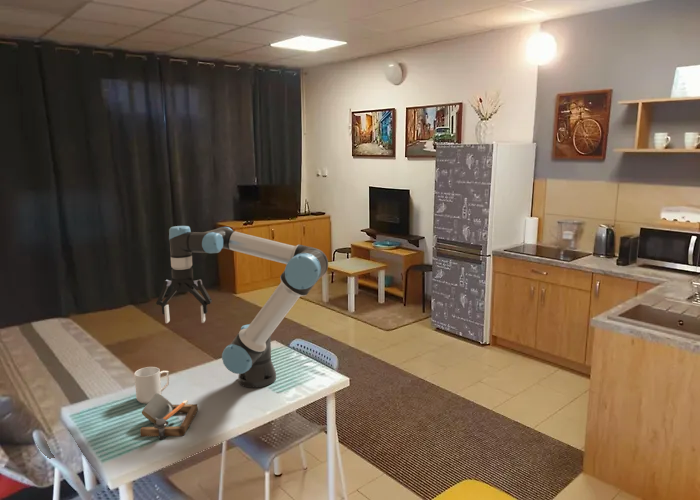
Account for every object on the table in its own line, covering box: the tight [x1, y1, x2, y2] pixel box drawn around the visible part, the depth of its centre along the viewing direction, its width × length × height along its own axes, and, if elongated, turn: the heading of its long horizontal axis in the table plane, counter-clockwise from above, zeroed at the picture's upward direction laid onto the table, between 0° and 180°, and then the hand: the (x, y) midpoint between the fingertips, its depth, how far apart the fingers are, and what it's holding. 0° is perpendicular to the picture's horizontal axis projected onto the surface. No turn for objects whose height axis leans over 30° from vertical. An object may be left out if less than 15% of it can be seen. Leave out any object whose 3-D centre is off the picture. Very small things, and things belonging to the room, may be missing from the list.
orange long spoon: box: [156, 399, 189, 426], centre depth 164 cm, size 3×16×1 cm, turn 165°
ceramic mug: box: [141, 393, 174, 425], centre depth 166 cm, size 11×8×8 cm
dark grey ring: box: [153, 420, 169, 441], centre depth 158 cm, size 4×4×5 cm
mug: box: [133, 366, 170, 405], centre depth 185 cm, size 12×9×11 cm
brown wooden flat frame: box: [139, 403, 199, 437], centre depth 167 cm, size 14×16×2 cm
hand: (185, 322), depth 185 cm, fingers open, 13 cm apart
